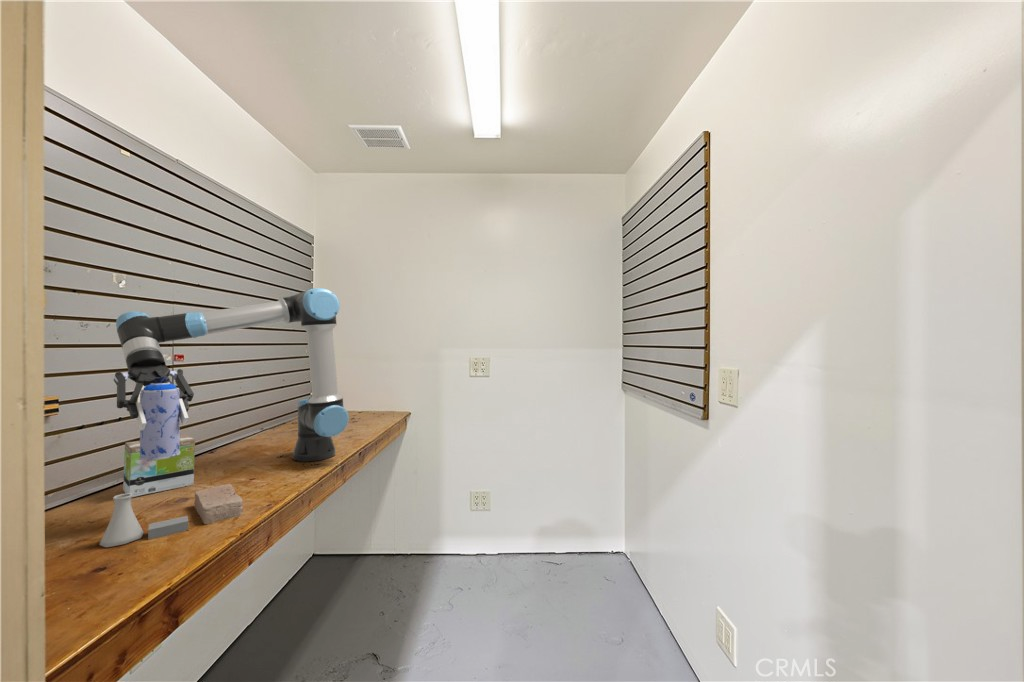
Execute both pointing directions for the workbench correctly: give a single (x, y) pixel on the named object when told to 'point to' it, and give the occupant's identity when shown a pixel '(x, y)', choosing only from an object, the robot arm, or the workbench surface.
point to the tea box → (158, 469)
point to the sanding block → (167, 527)
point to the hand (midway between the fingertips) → (165, 423)
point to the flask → (122, 523)
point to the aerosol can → (160, 421)
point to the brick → (218, 503)
